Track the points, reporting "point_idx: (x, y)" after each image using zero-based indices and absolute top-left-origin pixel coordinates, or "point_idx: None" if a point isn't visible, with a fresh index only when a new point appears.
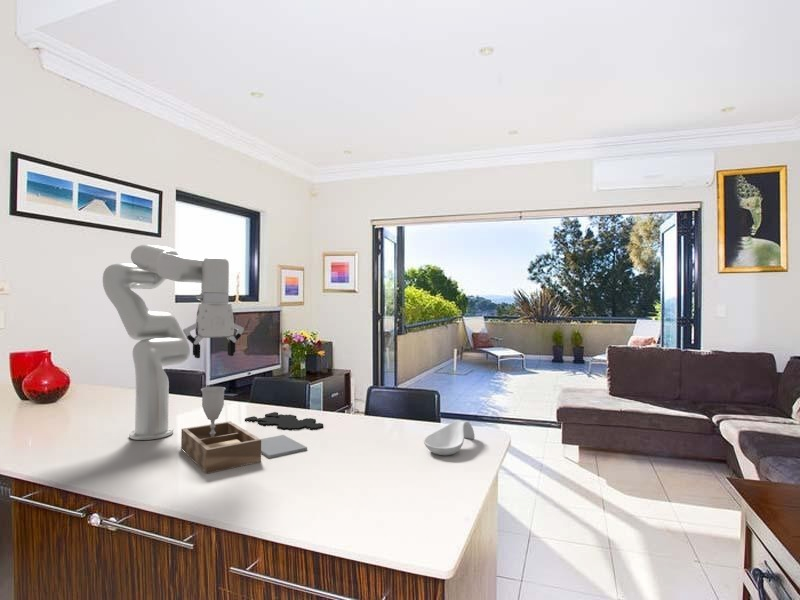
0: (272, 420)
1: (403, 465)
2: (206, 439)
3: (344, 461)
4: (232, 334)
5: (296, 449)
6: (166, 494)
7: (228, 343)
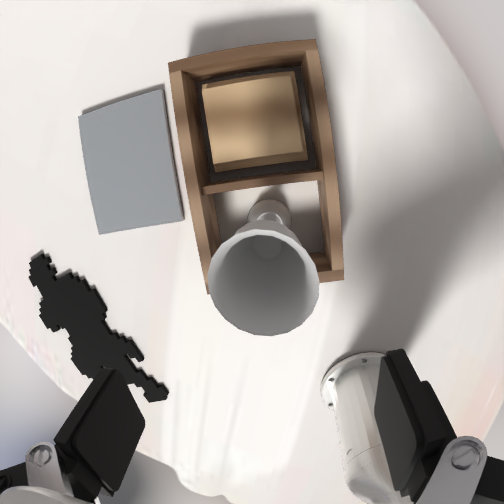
0: (113, 356)
1: (14, 8)
2: (295, 174)
3: (58, 34)
4: (7, 489)
5: (99, 109)
6: (384, 5)
7: (110, 480)
